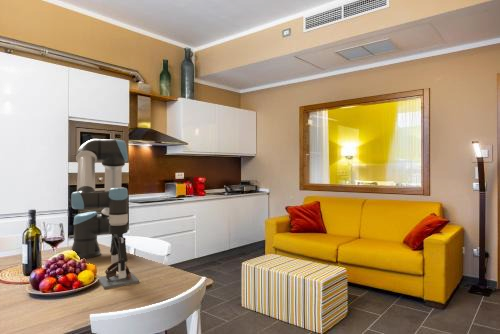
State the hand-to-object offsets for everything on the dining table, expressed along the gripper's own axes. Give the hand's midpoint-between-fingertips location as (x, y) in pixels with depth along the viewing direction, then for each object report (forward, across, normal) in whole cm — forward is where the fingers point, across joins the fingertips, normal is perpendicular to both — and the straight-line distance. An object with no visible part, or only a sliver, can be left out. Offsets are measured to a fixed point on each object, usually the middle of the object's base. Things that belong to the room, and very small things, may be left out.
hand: (118, 273), depth 148 cm
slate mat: (+3, 0, 0) cm, 3 cm away
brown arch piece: (+2, 0, +1) cm, 2 cm away
